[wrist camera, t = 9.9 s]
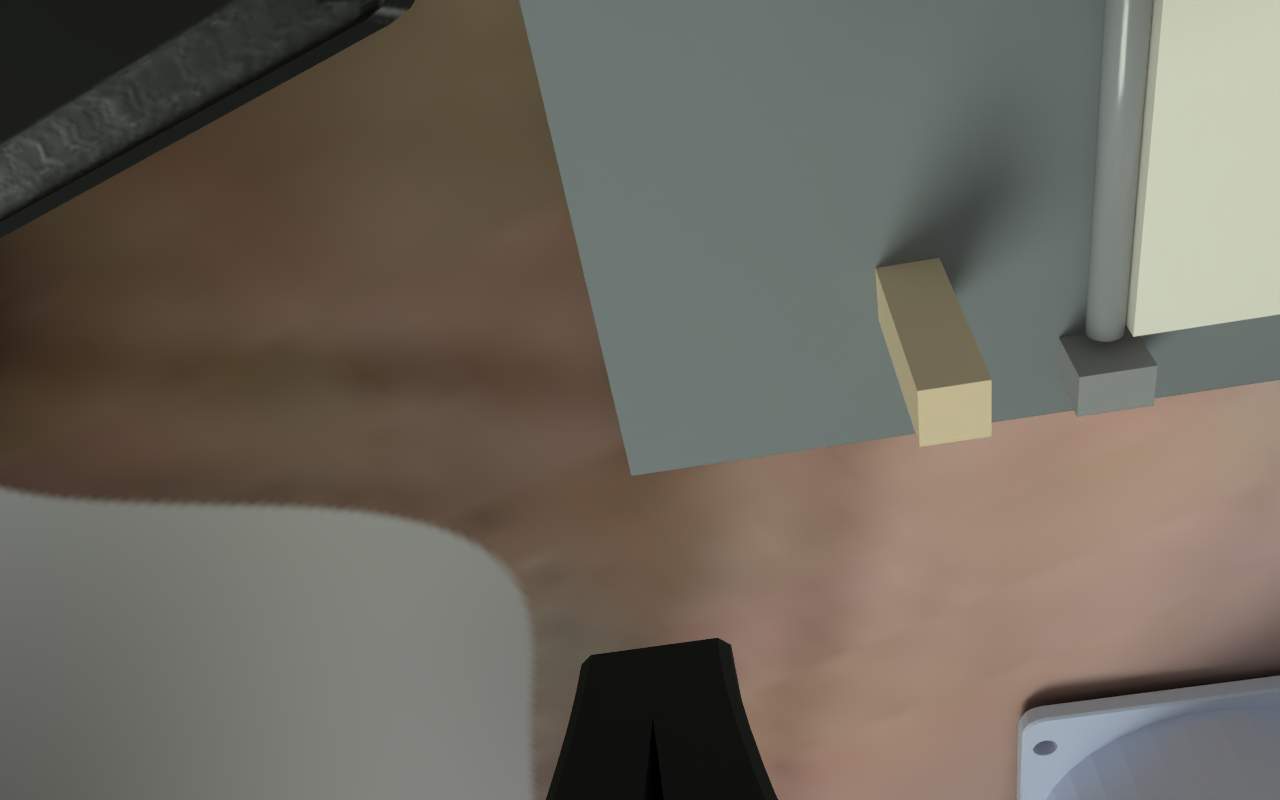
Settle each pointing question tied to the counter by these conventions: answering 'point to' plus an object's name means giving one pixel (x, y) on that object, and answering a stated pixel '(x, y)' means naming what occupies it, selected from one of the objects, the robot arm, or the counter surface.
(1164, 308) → the tile
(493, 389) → the counter surface
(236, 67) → the phone
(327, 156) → the counter surface
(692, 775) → the robot arm
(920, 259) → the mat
